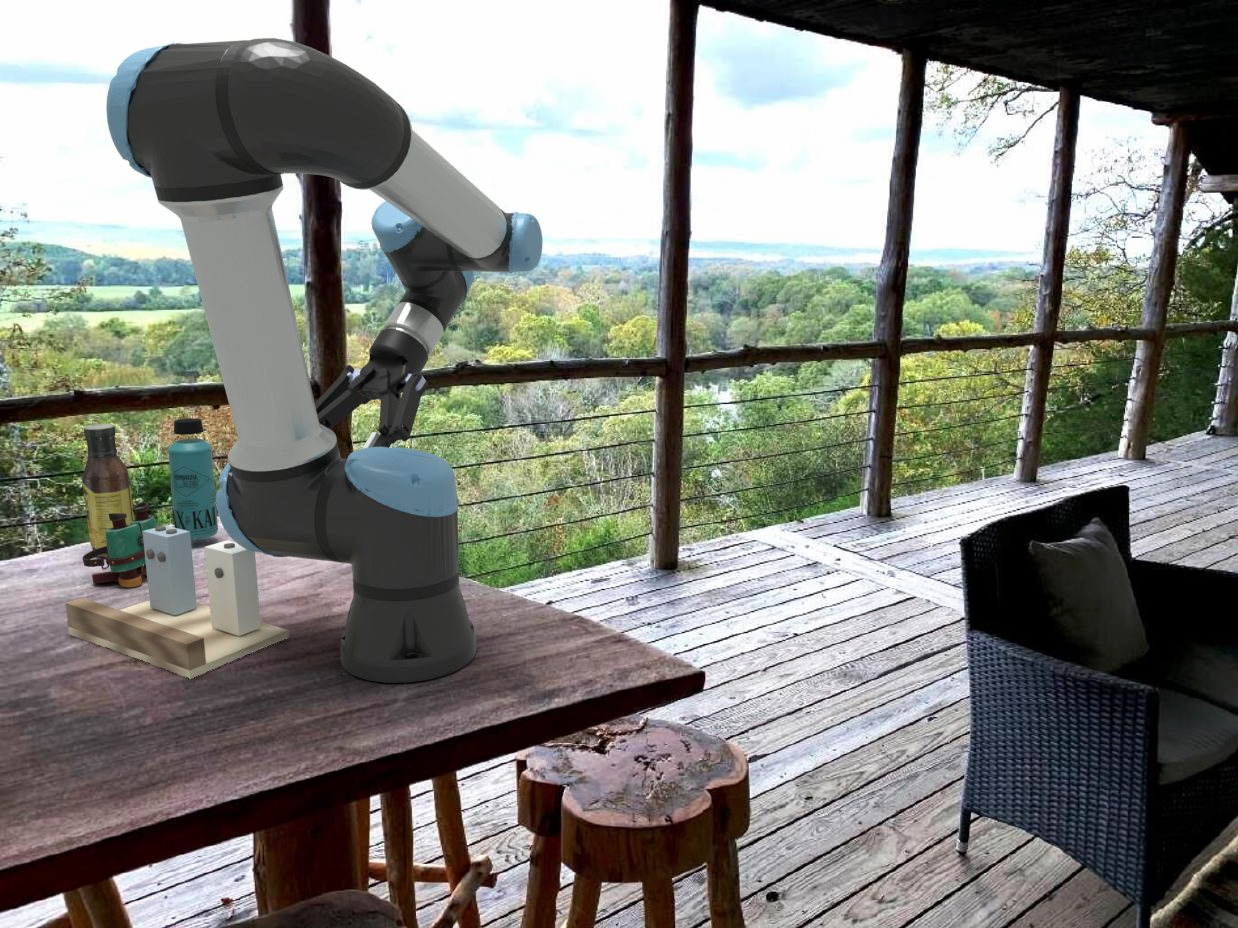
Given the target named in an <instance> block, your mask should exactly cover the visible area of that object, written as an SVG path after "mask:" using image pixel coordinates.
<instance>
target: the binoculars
mask: <svg viewBox="0 0 1238 928" xmlns="http://www.w3.org/2000/svg"><path fill="white" fill-rule="evenodd" d="M132 510H133V512H134V516H135V520H133V521H131V522H130V525H126V520H125V518H127V515H126V513H110V514H108V515H109V519H110V521H112V524H113V528H111V529H108V530H106V542H107V546H104V547H101V548H98V549H95V550H93V549H92V550H91V551H89V552H87V553H85V554H84V555H83V556H82V562H83V566H85V567H86V568H87V567H88V568H90V567H91V568H96V567H101V569H102V570H106V569H110V571H104V572H98V573H93V574H92V575H91V577H92V584H100V583H108V582H113V581H114V582H118V583H119V585H120V586H121V587H123V588H124V587H125V588H136V587H138V586H141V585H142V584H143V580H142V576H141V574H143V576H147V570H146V561H145V551H144V542H143V532H142V531H145V530H149V529H153V528H156V527H157V524H156V519H155V517H154V516H150V515H149V510H150V505H149V502H148V501H143V502H138V503H137V504H135V505H133V507H132ZM105 553H108V557H107V556H106V555H102V554H105ZM99 555H100V556H99ZM97 556H99V557H97ZM101 556H103V557H101ZM96 557H97V558H96ZM104 558H105V560H104ZM105 565H106V567H105ZM138 572H141V574H138Z"/></svg>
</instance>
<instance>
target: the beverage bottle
mask: <svg viewBox="0 0 1238 928" xmlns="http://www.w3.org/2000/svg"><path fill="white" fill-rule="evenodd" d="M201 433H204V428H203V421H202V419H201V418H194V417H192V418H191V417H188V418H181V419H179V418H178V419H176V420H174V422H173V434H174V435H179V436H180V435H182V436H183V435H187V436H188V435H196V434H197V435H198V434H201ZM212 451H213V446H212V445H211V444H210V442H208V441H206V440H204V439H202V438H185V439H178V440H175V441H173V442H172V444H170V445H169V446H168V448H167V453H168V463H169V474H170V475H169V477H168V478H169V483H170V488H171V489H170V494H169V495H170V499H171V505H172V507H171V510H172V512H171V513H172V521H173V522H172V523H173V526H172V527H174V528H178V529H182V530H186V531H190V538H191V541H194V540H201V539H206V538H210V537H213V536H215V535H217V533H218V530H219V521H218V511H217V504H216V492H217V491H216V482H215V476H214V473H215V472H214V464H213V452H212Z"/></svg>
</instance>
